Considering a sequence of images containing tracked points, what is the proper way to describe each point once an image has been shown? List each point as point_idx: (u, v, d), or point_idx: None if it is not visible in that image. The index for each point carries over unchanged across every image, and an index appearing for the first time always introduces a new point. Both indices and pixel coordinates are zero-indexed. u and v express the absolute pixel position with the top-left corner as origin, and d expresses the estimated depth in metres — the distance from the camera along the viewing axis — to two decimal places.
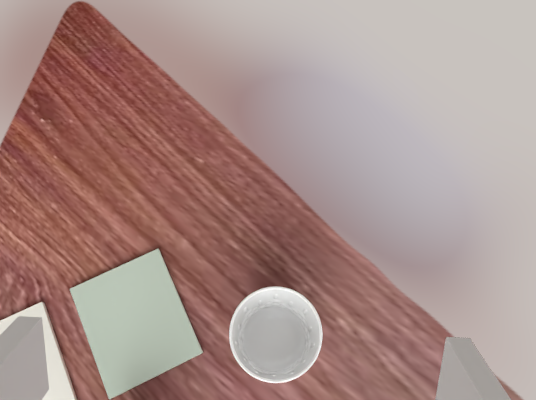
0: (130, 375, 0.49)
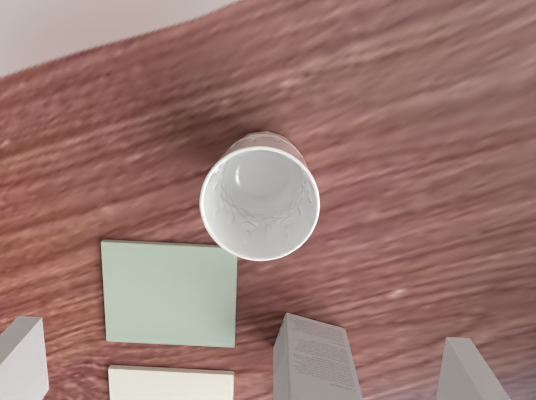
0: (222, 321, 0.45)
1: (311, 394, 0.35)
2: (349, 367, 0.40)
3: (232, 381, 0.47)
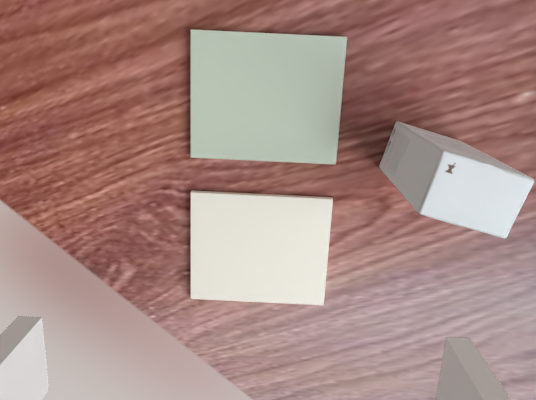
0: (324, 131, 0.40)
1: (463, 154, 0.30)
2: (486, 155, 0.35)
3: (331, 207, 0.42)
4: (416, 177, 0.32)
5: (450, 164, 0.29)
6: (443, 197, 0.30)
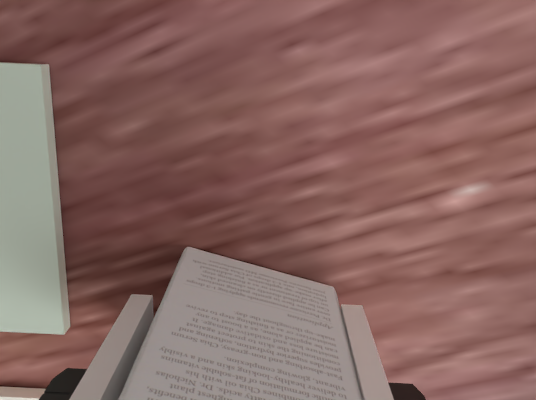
0: (26, 269, 0.18)
1: None
2: (341, 390, 0.13)
3: None
4: None
5: None
6: None
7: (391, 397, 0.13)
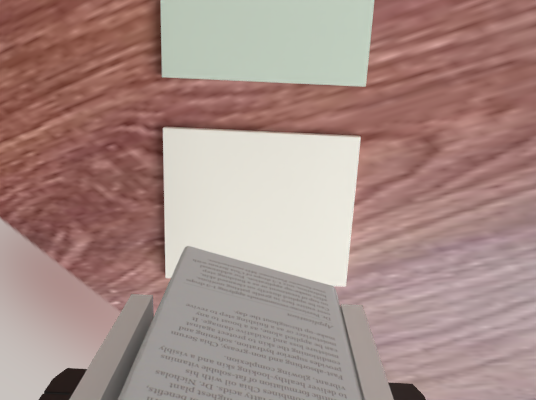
0: (350, 37, 0.28)
1: None
2: (341, 389, 0.13)
3: (357, 149, 0.30)
4: None
5: None
6: None
7: (391, 397, 0.13)
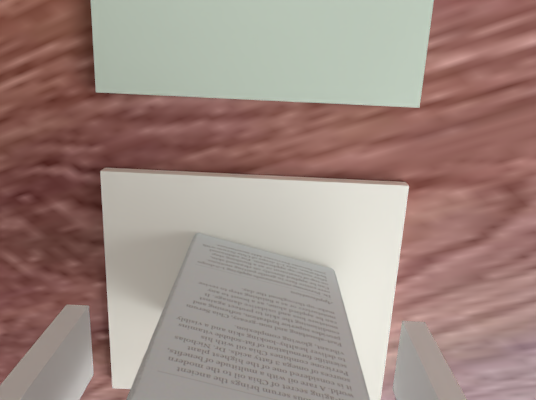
0: (396, 29, 0.17)
1: None
2: (340, 354, 0.14)
3: (404, 204, 0.19)
4: None
5: None
6: None
7: None
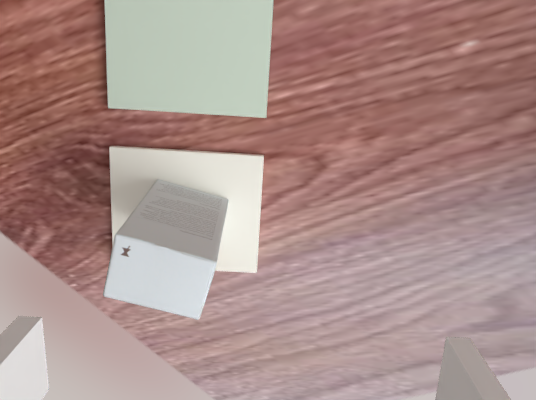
0: (252, 80, 0.37)
1: (148, 234, 0.29)
2: (214, 223, 0.34)
3: (262, 165, 0.39)
4: None
5: (125, 247, 0.28)
6: (124, 280, 0.28)
7: None
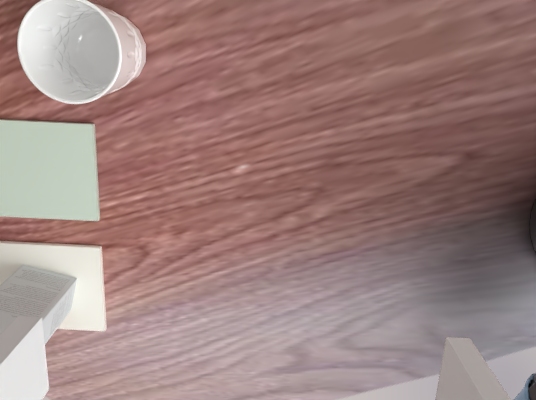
0: (85, 195, 0.50)
1: None
2: (46, 305, 0.47)
3: (99, 254, 0.52)
4: None
5: None
6: None
7: None
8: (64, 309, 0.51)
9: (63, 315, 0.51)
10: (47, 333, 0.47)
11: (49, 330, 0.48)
